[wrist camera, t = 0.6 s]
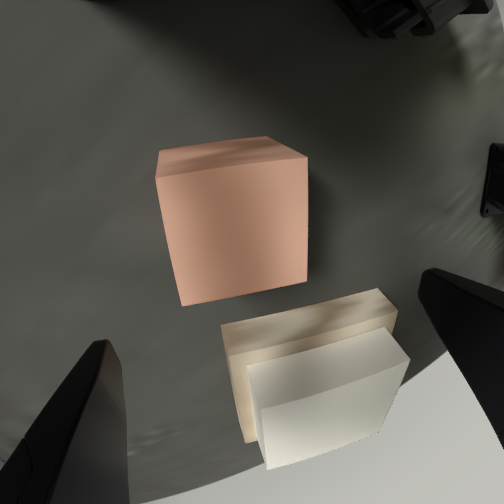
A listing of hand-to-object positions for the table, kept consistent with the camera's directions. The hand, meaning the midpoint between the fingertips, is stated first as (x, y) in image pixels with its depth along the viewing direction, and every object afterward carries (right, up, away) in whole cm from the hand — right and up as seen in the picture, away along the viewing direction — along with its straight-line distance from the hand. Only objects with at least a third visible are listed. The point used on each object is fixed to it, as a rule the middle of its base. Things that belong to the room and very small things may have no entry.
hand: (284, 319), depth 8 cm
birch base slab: (+3, -7, +18) cm, 19 cm away
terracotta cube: (-3, +5, +9) cm, 11 cm away
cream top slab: (+4, -9, +15) cm, 18 cm away
